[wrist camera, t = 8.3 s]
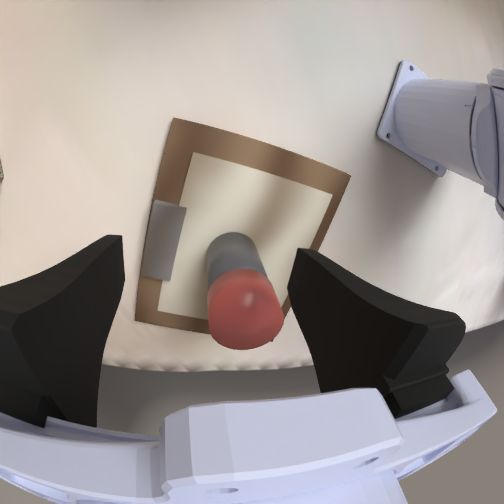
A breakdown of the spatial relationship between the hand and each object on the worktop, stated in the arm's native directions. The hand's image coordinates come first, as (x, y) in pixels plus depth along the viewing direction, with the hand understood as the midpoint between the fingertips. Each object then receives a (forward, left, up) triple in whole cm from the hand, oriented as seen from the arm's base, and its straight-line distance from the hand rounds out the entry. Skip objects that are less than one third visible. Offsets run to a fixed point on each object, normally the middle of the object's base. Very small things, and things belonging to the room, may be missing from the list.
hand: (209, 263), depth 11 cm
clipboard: (-3, +4, -10) cm, 12 cm away
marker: (-3, +4, -10) cm, 11 cm away
